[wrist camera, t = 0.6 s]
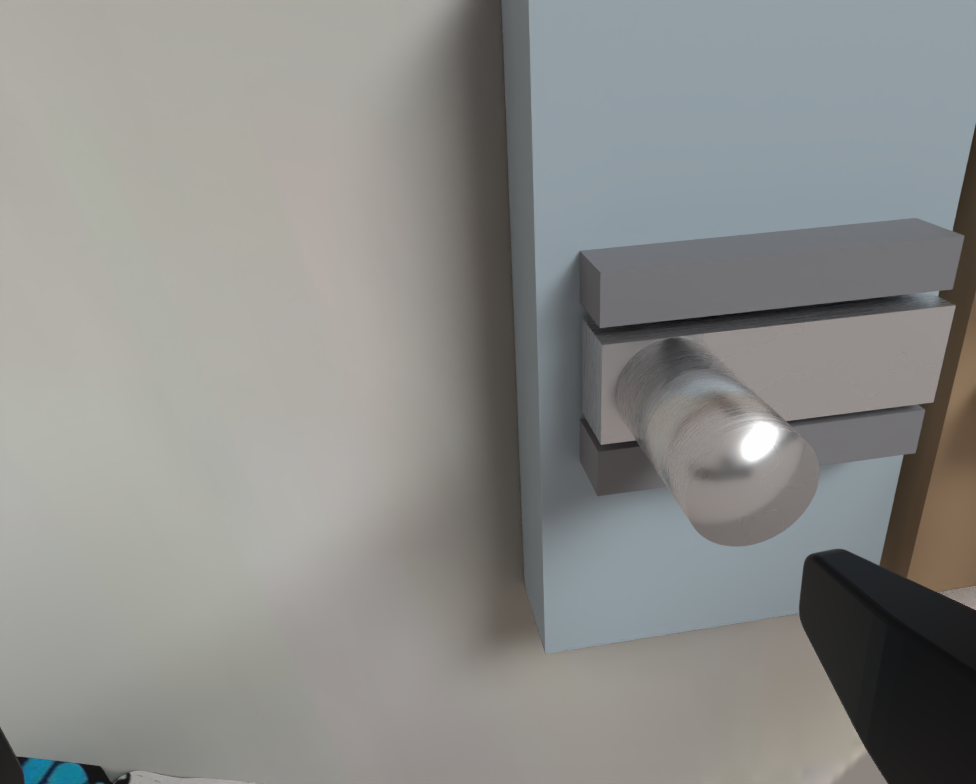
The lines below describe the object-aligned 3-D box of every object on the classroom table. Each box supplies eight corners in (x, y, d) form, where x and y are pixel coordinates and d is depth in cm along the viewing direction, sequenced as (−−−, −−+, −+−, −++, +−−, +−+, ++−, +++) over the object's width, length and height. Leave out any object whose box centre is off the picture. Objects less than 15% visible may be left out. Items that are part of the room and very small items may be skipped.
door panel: (926, -89, 18) (1093, -116, 14) (818, 541, 26) (905, 640, 22) (498, -68, 17) (546, -92, 13) (524, 584, 25) (558, 697, 21)
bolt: (909, 282, 19) (1113, 382, 14) (891, 374, 20) (1074, 497, 15) (582, 317, 18) (673, 439, 13) (582, 411, 19) (666, 557, 14)
